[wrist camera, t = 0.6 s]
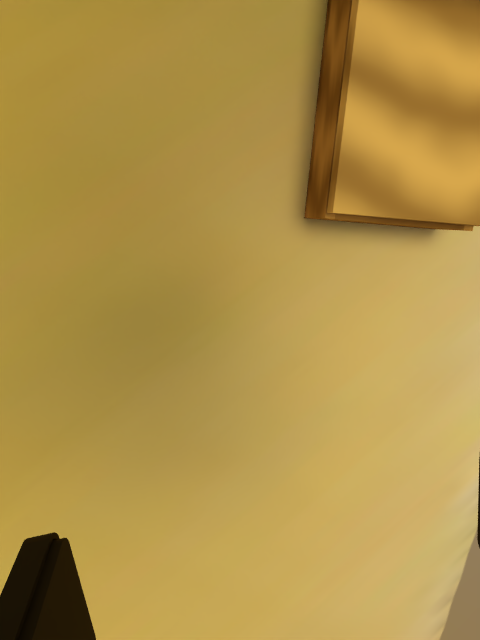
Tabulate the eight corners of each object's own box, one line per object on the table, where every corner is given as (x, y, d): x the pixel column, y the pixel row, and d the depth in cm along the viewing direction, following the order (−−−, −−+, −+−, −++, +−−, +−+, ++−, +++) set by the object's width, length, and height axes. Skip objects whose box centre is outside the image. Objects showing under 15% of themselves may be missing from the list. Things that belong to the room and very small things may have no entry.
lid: (358, -48, 29) (389, -91, 25) (522, -15, 31) (576, -49, 27) (326, 212, 32) (349, 212, 28) (476, 225, 35) (516, 227, 31)
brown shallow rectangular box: (329, -14, 34) (356, -52, 29) (473, 13, 36) (520, -19, 31) (304, 217, 37) (324, 218, 33) (435, 228, 40) (472, 230, 35)
